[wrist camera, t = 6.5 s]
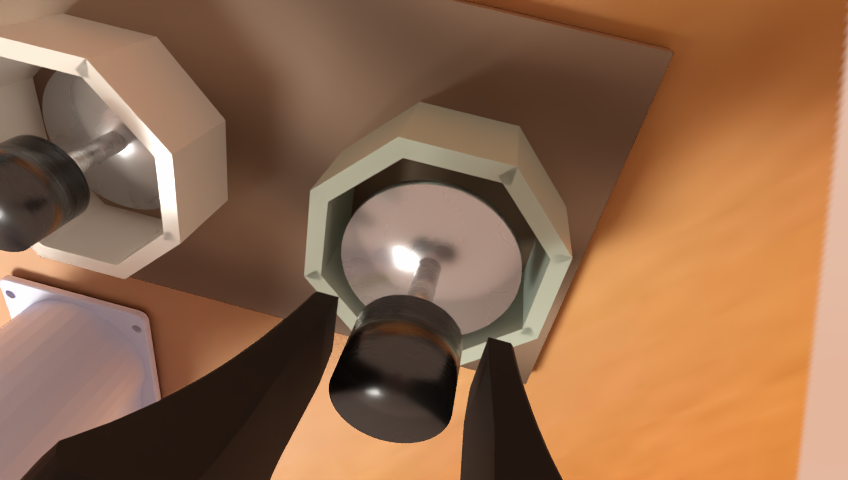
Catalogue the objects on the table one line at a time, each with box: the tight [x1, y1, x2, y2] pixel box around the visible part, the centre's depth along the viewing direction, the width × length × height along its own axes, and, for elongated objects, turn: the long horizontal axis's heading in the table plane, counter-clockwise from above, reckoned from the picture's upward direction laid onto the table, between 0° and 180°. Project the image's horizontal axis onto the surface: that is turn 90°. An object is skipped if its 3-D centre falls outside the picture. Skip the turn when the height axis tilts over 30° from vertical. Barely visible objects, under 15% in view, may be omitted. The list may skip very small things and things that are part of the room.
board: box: [0, 0, 674, 384], centre depth 20 cm, size 15×24×1 cm, turn 79°
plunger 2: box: [329, 179, 522, 443], centre depth 15 cm, size 6×6×6 cm
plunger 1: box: [0, 71, 161, 252], centre depth 18 cm, size 6×6×6 cm
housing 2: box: [304, 102, 573, 365], centre depth 18 cm, size 8×8×3 cm
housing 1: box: [0, 14, 228, 279], centre depth 19 cm, size 8×8×3 cm
